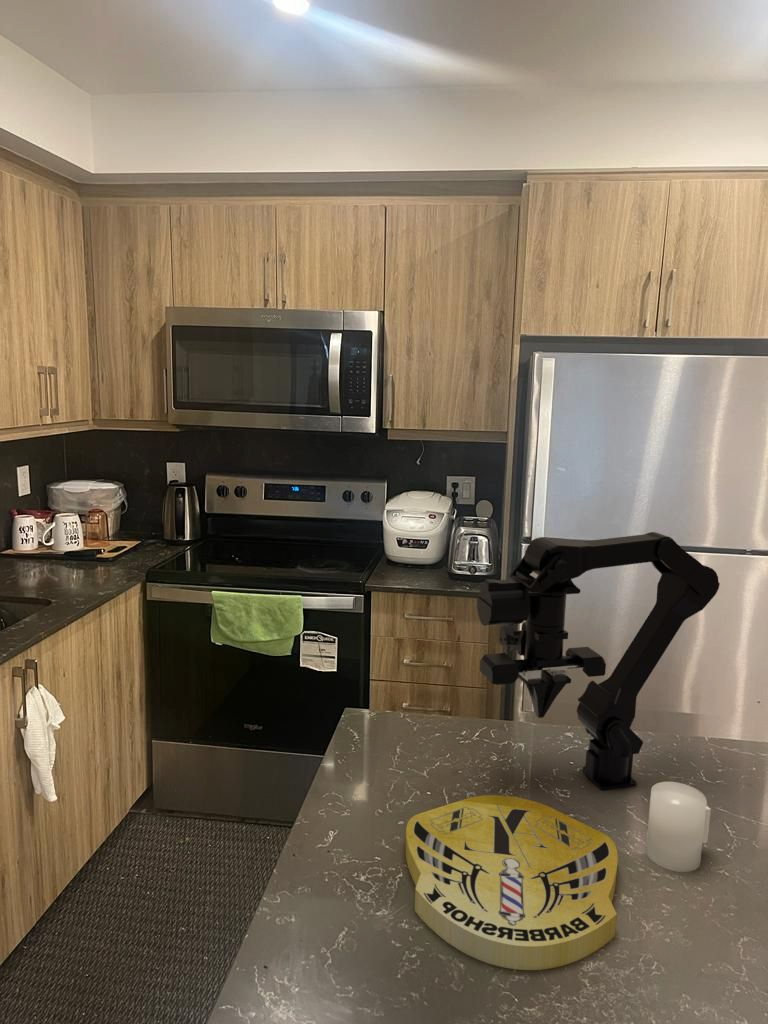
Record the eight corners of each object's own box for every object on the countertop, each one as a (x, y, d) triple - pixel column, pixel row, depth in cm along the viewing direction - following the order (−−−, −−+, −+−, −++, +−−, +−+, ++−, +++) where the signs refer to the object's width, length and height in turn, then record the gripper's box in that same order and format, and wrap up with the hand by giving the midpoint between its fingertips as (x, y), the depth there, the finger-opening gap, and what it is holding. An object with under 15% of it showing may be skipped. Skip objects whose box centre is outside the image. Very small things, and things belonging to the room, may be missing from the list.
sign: (384, 927, 84) (415, 786, 113) (384, 953, 84) (414, 806, 114) (643, 962, 80) (606, 806, 109) (641, 989, 80) (604, 826, 109)
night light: (685, 836, 107) (691, 778, 105) (718, 867, 100) (724, 805, 99) (635, 843, 105) (640, 784, 103) (665, 875, 98) (671, 813, 97)
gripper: (575, 602, 124) (569, 690, 127) (469, 608, 119) (465, 700, 122) (610, 623, 113) (603, 720, 116) (496, 631, 109) (491, 731, 112)
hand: (539, 716), depth 117 cm, fingers closed
